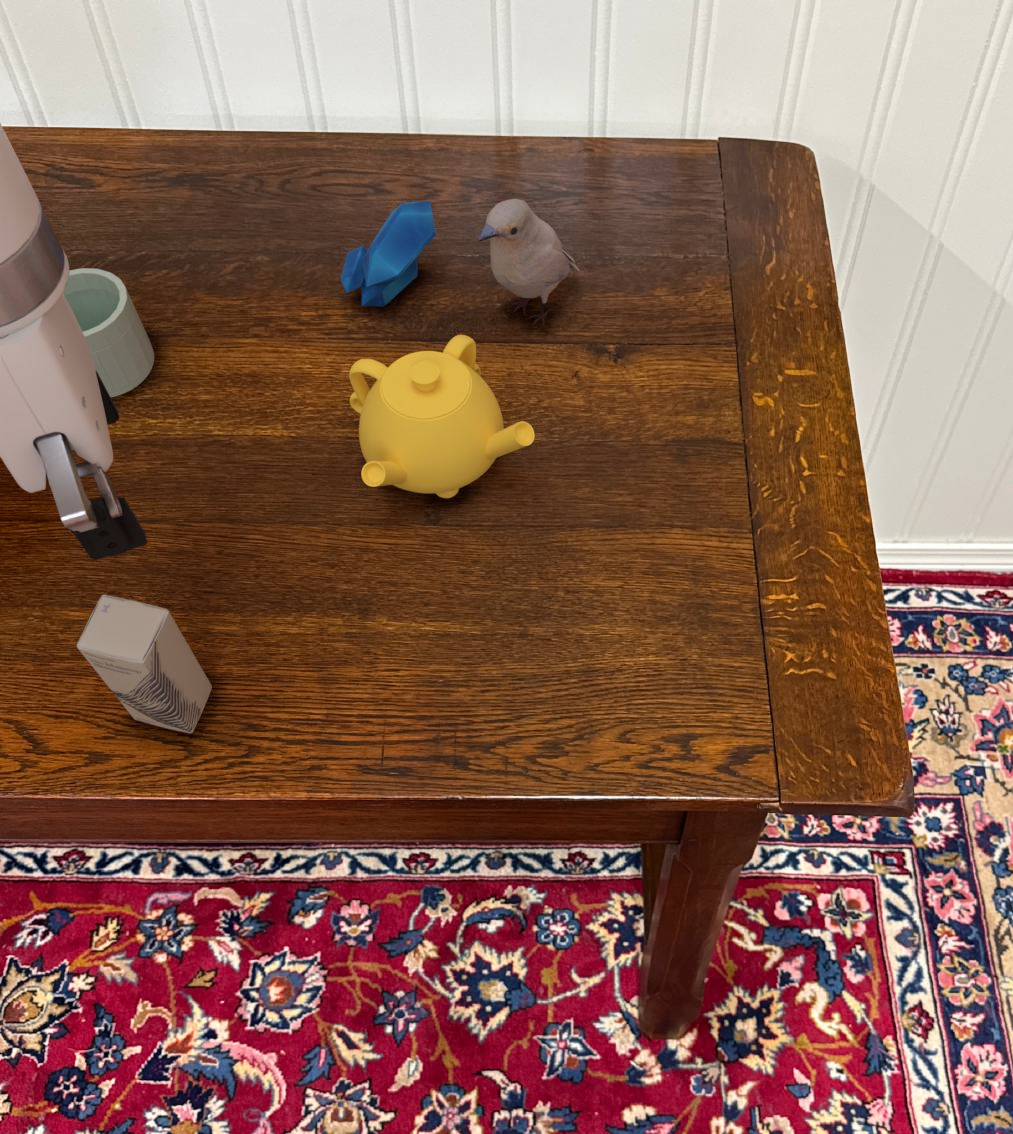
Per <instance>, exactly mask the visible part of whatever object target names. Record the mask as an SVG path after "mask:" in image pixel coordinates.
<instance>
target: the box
mask: <svg viewBox="0 0 1013 1134" xmlns="http://www.w3.org/2000/svg"><path fill="white" fill-rule="evenodd" d="M76 648H77V650H78V651H79V652H80V654H82V656H83V657H84V658H85V660H86V661H87V663H88V664H90V666H91V667H92V669H94V671H95V672H96V673H97V675H98V676H99V677H100V678H101V679H102V681H103V682H104V683H105V684H106V686H107V687H108V688H109V690H110V691H111V692H112V694H113V695H114V696H115V697H116V698H117V699H118V701H119V702H120V704H121V705H122V706H123V707H124V709H125V710H126V711H127V712H128V713H129V715H130V716H131V717H132V718H133V720H135V721H138V722H142V723H145V724H148V725H152V726H155V727H160V728H163V729H168V730H171V731H176V732H182V733H186V734H193V732H194V731H195V729H196V727H197V724H198V722H199V720H200V718H201V717H202V713H203V712H204V708H205V707H206V704H207V702H208V699H209V697H210V694H211V692H212V689H213V685H212V683H211V682H210V679H209V678H208V677H207V675H206V673H205V671H204V670H203V668H202V666H201V664H200V663H199V661H198V660H197V657H196V656H195V654H194V653H193V651H192V649H191V647H190V646H189V644H188V642H187V640H186V638H185V637H184V635H183V634H182V632H181V630H180V629H179V627H178V624H177V623H176V622H175V620H174V618H173V616H172V614H171V612H170V611H169V609H166V608H165V607H161V606H157V605H153V604H149V603H144V602H140V601H137V600H131V599H128V598H123V597H118V596H113V595H107V594H102V595H101V596H100V597H99V599H98V600H97V603H96V605H95V606H94V609H93V610H92V612H91V615H90V616H89V618H88V621H87V622H86V625H85V626H84V629H83V631H82V633H81V635H80V637H79V639H78V641H77V644H76Z"/></svg>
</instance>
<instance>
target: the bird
mask: <svg viewBox="0 0 1013 1134" xmlns="http://www.w3.org/2000/svg"><path fill="white" fill-rule="evenodd" d="M486 240H489V252H490V256H489V257H490V270H491V272H492V275H493V276H494V279H495V280H496V281H497V282H498V284H499V285H500V286H502V287H503V288H504V289H505V290H507V291H509V292H510V293H511V294H514V295H515V296H517V297H520V298H521V300H520V301H514V302H513V303H510V305H509V306H508V307H509V308H510V307H512V306H516V307H515V309H514V310H513V313H516V311H517V310H519V309H520V308H522V312H523V315H524V316H526V311H527V307H528V303H529V301H530V300H531V299H534V298H538V297H540V298H541V301H542V302H541V306H540V313H538V314H537V313H536V314H533V315H531V316H529V317H528V318H527V319H528V320H529V319H533V318H535V319H534V320H533V323H532V326H533V325H535V324H536V323H537V322H539V321H541V324H542V328H543V329H544V328H545V324H546V323H545V321H546V318H547V315H548V314H549V313H550V311H553V308H548V309H547V310H545V306H546V303H547V302H548V298H549V295H550V293H551V292H552V291H554V290H555V289H556V288H557V287H558V285H559V284H560V282H562V281H563V280H564V279H565V278H567V276H568V275H569V273H570V272H571V273H575V270H576V271H577V272H581V270H580V268H579V267H578V265H577V264H576V263H577V262H576V261H575V259H574V257H572V256H571V253H570V252H569V251H568V250H567V249H566V248H565V247H564V246H563V245H562V241H561V239H560V238H559V237H558V235H557V233H556V231H555V229H554V228H553V227H552V226H551V225H549V224H548V223H547V222H545V221H544V220H542V219H541V218H540V217H538V215H536V214H535V213H534V211H533V210H532V209H531V207H530V206H529V204H528V203H527V202H526V201H525V200H523V199H520V198H511V199H507V200H501V201H500V202H499V203H498V202H497V204H496V205H494V206H493V207H492V209H491V210H490V211H489V212H488V214H487V216H486V219H485V224H484V226H483V229H482V230H481V233H480V235H479V236H478V239H477V243H479V242H480V243H481V242H484V241H486ZM574 269H575V270H574Z"/></svg>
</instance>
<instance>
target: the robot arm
mask: <svg viewBox="0 0 1013 1134" xmlns="http://www.w3.org/2000/svg"><path fill="white" fill-rule="evenodd" d="M25 171H26V170H25V169H24V167H23V165H22V163H21V161H20V159H19V157H18V155H17V153H16V151H15V150H14V148H13V145H12V144H11V142H10V139H9V137H8V136H7V133H6V131H5V129H4V128H3V125H2V123H1V122H0V459H1V460H2V462H3V463H4V465H5V467H6V468H7V470H8V471H9V473H10V475H11V476H12V477H13V479H14V480H15V482H16V483H17V485H18V486H19V487H20V488H21V489H22V490H24V491H26V492H27V493H30V494H33V493H37V492H41V491H44V490H46V487H47V483H48V485H49V487H50V490H51V493H52V496H53V499H54V502H55V505H56V508H57V511H58V515H59V518H60V520H61V523H62V525H63V526H64V527H65V529H66V530H67V531H70V532H71V533H72V534H73V536H75V538H76V539H77V541H78V542H79V544H80V545H81V546H82V549H84V551H85V552H86V553H87V555H88V557H89V558H90V559H92V560H100V559H104V558H111V557H116V556H119V555H122V554H125V553H126V552H128V551H131V550H135V549H137V548H140V547H144V546H145V545H146V544H147V543H148V539H147V535H146V532H145V530H144V528H143V527H142V525H141V523H140V521H139V520H138V518H137V517H136V515H135V514H134V511H133V510H132V508H131V507H130V505H129V503H128V502H127V500H126V497H125V496H123V497H118V495H117V493H116V490H115V487H114V486H113V483H112V480H111V478H110V475H109V473H108V470H109V469H110V468H111V466H112V464H113V461H114V452H113V445H112V440H111V435H110V430H109V426H110V425H112V424H116V423H117V422H118V420H119V419H120V415H119V410H118V408H117V406H116V405H115V403H114V401H113V399H112V397H110V395H109V393H108V391H107V390H106V388H105V386H104V384H103V382H102V380H101V378H100V376H99V374H98V372H97V371H95V367H94V363H93V359H92V356H91V353H90V350H89V347H88V344H87V341H86V339H85V337H84V334H83V332H82V330H81V327H80V325H79V323H78V321H77V319H76V317H75V315H74V313H73V311H72V309H71V307H70V305H69V303H68V301H67V299H66V297H65V295H64V294H63V292H64V290H65V288H66V284H67V282H68V279H69V271H70V263H69V259H68V256H67V254H66V252H65V250H64V248H63V246H62V244H61V242H60V240H59V239H58V236H57V234H56V232H55V230H54V228H53V226H52V224H51V222H50V220H49V217H48V216H47V214H46V212H45V209H44V208H43V206H42V204H41V201H40V200H39V198H38V195H37V194H36V192H35V190H34V188H33V185H32V183H31V181H30V180H29V177H28V175H27V174H26V172H25ZM72 451H74V452H75V454H76V456H78V457H80V458H81V459H83V460H85V461H82V462H77V463H76V461H75V457H74V454H73V452H72ZM91 475H93V477H94V480H95V482H96V484H97V488H98V490H99V493H100V495H101V496H100V497H96V498H92V499H89V498H88V497H87V493H86V492H85V489H84V485H83V483H82V479H81V478H85V477H88V476H91Z"/></svg>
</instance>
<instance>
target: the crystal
mask: <svg viewBox="0 0 1013 1134" xmlns="http://www.w3.org/2000/svg"><path fill="white" fill-rule="evenodd" d="M436 236H437V232H436V225H435V219H434V215H433V208H432V203H431V200H422V201H413V202H402V203H401V204H400V205H398V206H397V207H396V208H395V209H394V210H393V211H391V212H390V213H389V215H388V217H387V218H386V220H384V223H383V224H382V226H381V228H380V229H379V230H378V233H377V234H376V236H375V238H374V239H373V241H372V242H371V244H370V245H369V247H368V249H367V248H366V246H365V245H364V244H363V245H361V246H359V247H356V248H355V249H352V250H350V251H348V252H347V253H346V257H345V260H344V265H343V269H342V273H341V276H340V283H341V284H342V287H343V288H344V290H345V292H346V294H349V293H351V292H354V291H355V290H359V289H361V307H385V306H387V305H388V303H390V302H392V300H393V299H394V298H395V297H396V296H398V294H400V293H401V292H402V291H403V290H404V289H405V288H406V287H408V285H409V284H411V283H412V281H413V280H415V279H416V278H417V277H418V271H419V269H418V267H419V266H418V265H419V262H418V261H419V255H420V254H421V253H422V252H423V251H424V249H425V248H426V247H427V246H428V245H429V243H430V242H431V241H432V240H433V239H434V238H435V237H436Z"/></svg>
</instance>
